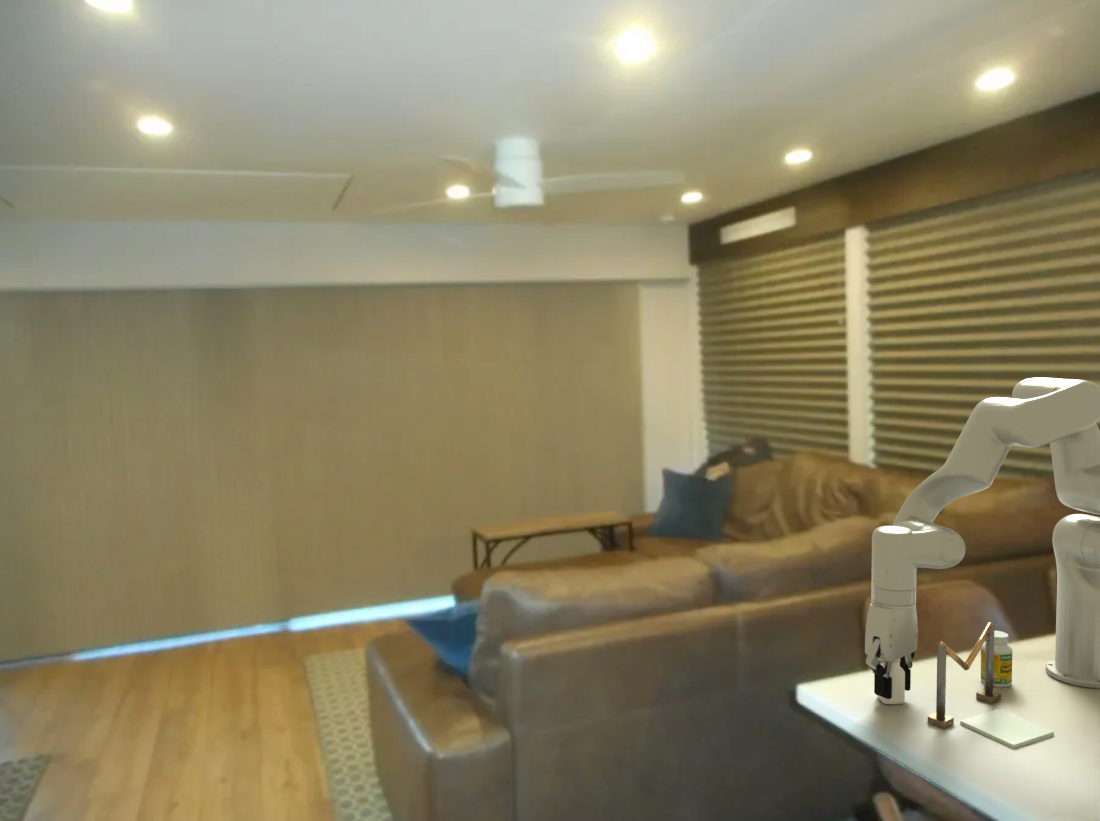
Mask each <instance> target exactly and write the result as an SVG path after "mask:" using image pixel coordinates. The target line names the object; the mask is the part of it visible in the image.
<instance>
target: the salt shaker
mask: <svg viewBox="0 0 1100 821" xmlns="http://www.w3.org/2000/svg"><path fill="white" fill-rule="evenodd" d="M881 657H882V658H884V655H882V654H881ZM880 664H881V665H882V666H883V667H884V668H885V662H882V661H881V663H880ZM889 677H892V698H890V699H887V698H884V697H881V696H879V695H876V696H877V698H878V699H879V700H880V701H881V703H883V704H885V705H902V704H905V698H906V696H905V695H906V690H905V671H904V670H903V669H902V668H901V667H900V658H899V659H896V660H894V661H892V665H891V671H890V676H889Z"/></svg>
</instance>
